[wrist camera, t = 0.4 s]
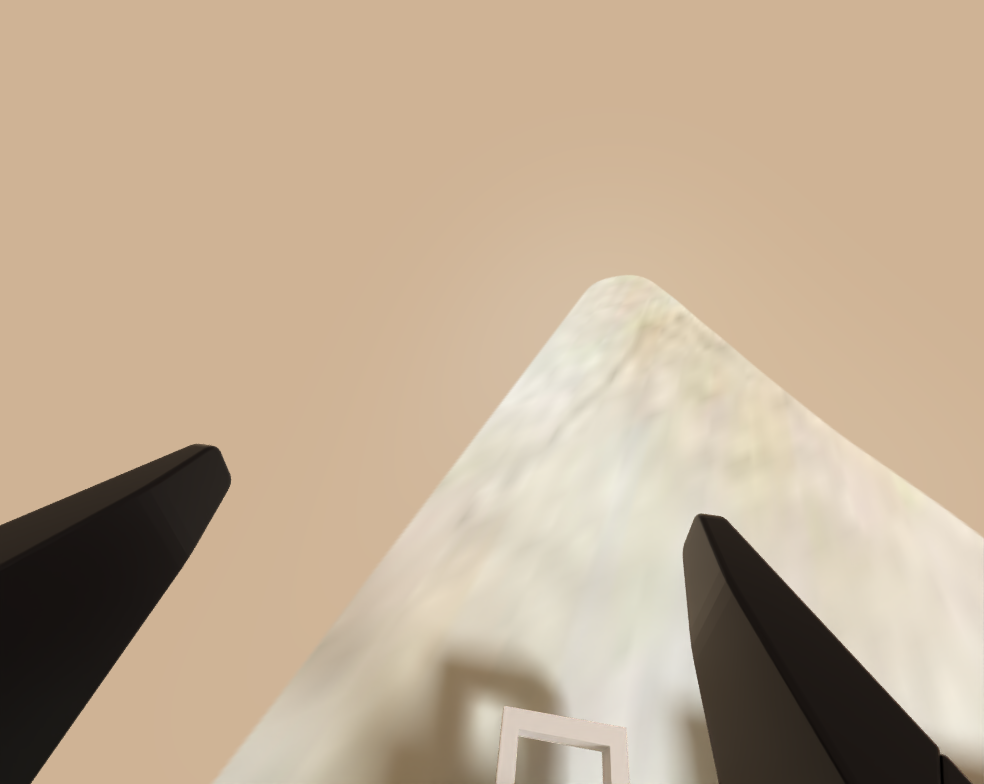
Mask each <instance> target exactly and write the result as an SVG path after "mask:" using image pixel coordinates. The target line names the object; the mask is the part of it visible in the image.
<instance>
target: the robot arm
mask: <svg viewBox="0 0 984 784" xmlns="http://www.w3.org/2000/svg"><path fill="white" fill-rule="evenodd" d="M230 484H231V476H230V473H229V471H228V468H227V466H226V464H225V461H224V459H223V457H222V454H221V452H220V451H219V449H218V448H217V447H215V446H211V445H204V444H194V445H190V446H188V447H185V448H183V449H181V450H178V451H176V452H173V453H171V454H169V455H166V456H164V457H162V458H159V459H157V460H154V461H152V462H150V463H147V464H145V465H142V466H140V467H138V468H135V469H133V470H131V471H128V472H126V473H124V474H121V475H119V476H116V477H114V478H112V479H109V480H107V481H104V482H102V483H100V484H97V485H95V486H93V487H90V488H88V489H85V490H83V491H81V492H78V493H76V494H74V495H71V496H69V497H66V498H64V499H62V500H60V501H57V502H55V503H52V504H50V505H48V506H45V507H43V508H40V509H38V510H36V511H33V512H31V513H28V514H27V515H24V516H21V517H19V518H17V519H14V520H12V521H10V522H7V523H5V524H2V525H0V784H31V783H32V781H33V780H34V778H35V777H36V776H37V774H38V773H39V771H40V770H41V768H42V767H43V765H44V764H45V763H46V761H47V760H48V758H49V757H50V755H51V754H52V753H53V751H54V750H55V748H56V747H57V746H58V744H59V743H60V741H61V740H62V738H63V737H64V736H65V734H66V732H67V731H68V730H69V729H70V727H71V726H72V724H73V723H74V721H75V720H76V718H77V717H78V716H79V714H80V713H81V711H82V710H83V709H84V707H85V706H86V704H87V703H88V701H89V700H90V699H91V697H92V696H93V694H94V693H95V691H96V690H97V689H98V687H99V686H100V684H101V683H102V681H103V680H104V679H105V677H106V676H107V674H108V673H109V671H110V670H111V669H112V667H113V666H114V664H115V663H116V661H117V660H118V659H119V657H120V656H121V654H122V653H123V652H124V650H125V649H126V647H127V646H128V644H129V643H130V642H131V640H132V639H133V637H134V636H135V634H136V633H137V632H138V630H139V629H140V627H141V626H142V624H143V623H144V622H145V620H146V619H147V617H148V616H149V614H150V613H151V611H152V610H153V609H154V607H155V606H156V604H157V603H158V601H159V600H160V599H161V597H162V596H163V594H164V593H165V592H166V590H167V589H168V587H169V586H170V584H171V583H172V582H173V580H174V579H175V577H176V576H177V575H178V573H179V572H180V570H181V569H182V567H183V566H184V564H185V563H186V561H187V560H188V558H189V557H190V555H191V553H192V552H193V550H194V548H195V547H196V545H197V543H198V541H199V540H200V538H201V536H202V535H203V533H204V531H205V529H206V527H207V526H208V524H209V522H210V521H211V519H212V517H213V515H214V513H215V512H216V510H217V509H218V507H219V505H220V503H221V502H222V500H223V498H224V496H225V495H226V493H227V491H228V489H229V487H230ZM683 565H684V576H685V587H686V598H687V608H688V619H689V630H690V639H691V648H692V653H693V659H694V665H695V669H696V674H697V679H698V684H699V689H700V694H701V699H702V703H703V708H704V713H705V718H706V723H707V728H708V733H709V737H710V742H711V747H712V752H713V757H714V762H715V767H716V771H717V776H718V781H719V784H973V783H972V782H971V781H970V780H969V779H968V778H967V777H966V776H965V775H964V774H963V773H962V772H961V770H960V769H959V768H958V767H957V766H956V765H955V764H954V763H953V762H952V761H951V760H950V759H949V758H948V757H947V756H946V755H943V754H940V750H939V748H938V746H937V745H936V744H935V743H934V742H933V741H932V740H931V739H930V738H929V736H928V735H927V734H926V733H925V732H924V731H923V730H922V729H921V728H920V727H919V726H918V725H917V724H916V722H915V721H914V720H913V719H912V718H911V717H910V716H909V715H908V714H907V713H906V712H905V711H904V710H903V708H902V707H901V706H900V705H899V704H898V703H897V702H896V701H895V700H894V699H893V698H892V697H891V696H890V695H889V693H888V692H887V691H886V690H885V689H884V688H883V687H882V686H881V685H880V684H879V683H878V682H877V681H876V679H875V678H874V677H873V676H872V675H871V674H870V673H869V672H868V671H867V670H866V669H865V668H864V667H863V666H862V664H861V663H860V662H859V661H858V660H857V659H856V658H855V657H854V656H853V655H852V654H851V653H850V652H849V650H848V649H847V648H846V647H845V646H844V645H843V644H842V643H841V642H840V641H839V640H838V639H837V638H836V637H835V635H834V634H833V633H832V632H831V631H830V630H829V629H828V628H827V627H826V626H825V625H824V624H823V623H822V621H821V620H820V619H819V618H818V617H817V616H816V615H815V614H814V613H813V612H812V611H811V610H810V609H809V607H808V606H807V605H806V604H805V603H804V602H803V601H802V600H801V599H800V598H799V597H798V596H797V595H796V594H795V592H794V591H793V590H792V589H791V588H790V587H789V586H788V585H787V584H786V583H785V582H784V581H783V580H782V578H781V577H780V576H779V575H778V574H777V573H776V572H775V571H774V570H773V569H772V568H771V567H770V566H769V565H768V563H767V562H766V561H765V560H764V559H763V558H762V557H761V556H760V555H759V554H758V553H757V552H756V551H755V549H754V548H753V547H752V546H751V545H750V544H749V543H748V542H747V541H746V540H745V539H744V538H743V537H742V536H741V534H740V533H739V532H738V531H737V530H736V529H735V528H734V527H733V526H732V525H731V524H730V523H729V522H728V521H727V520H726V519H725V518H723V517H721V516H716V515H708V514H698V515H697V516H696V517H695V518H694V520H693V523H692V525H691V528H690V530H689V533H688V535H687V538H686V540H685V543H684V547H683Z"/></svg>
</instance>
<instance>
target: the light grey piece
mask: <svg viewBox="0 0 984 784" xmlns="http://www.w3.org/2000/svg"><path fill="white" fill-rule="evenodd" d="M518 736H520V737H525V738H530V739H536V740H541V741H546V742H552V743H557V744H563V745H568V746H573V747H579V748H584V749H589V750H595V751H600V752H602V766H603V784H630V780H629V764H628V748H627V732H626V728H625V727H619V726H614V725H608V724H603V723H597V722H591V721H586V720H580V719H575V718H569V717H564V716H558V715H553V714H547V713H542V712H536V711H531V710H525V709H520V708H514V707H509V706H504V709H503V715H502V724H501V734H500V744H499V753H498V763H497V772H496V782H495V784H515V771H516V759H517V746H518Z"/></svg>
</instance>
